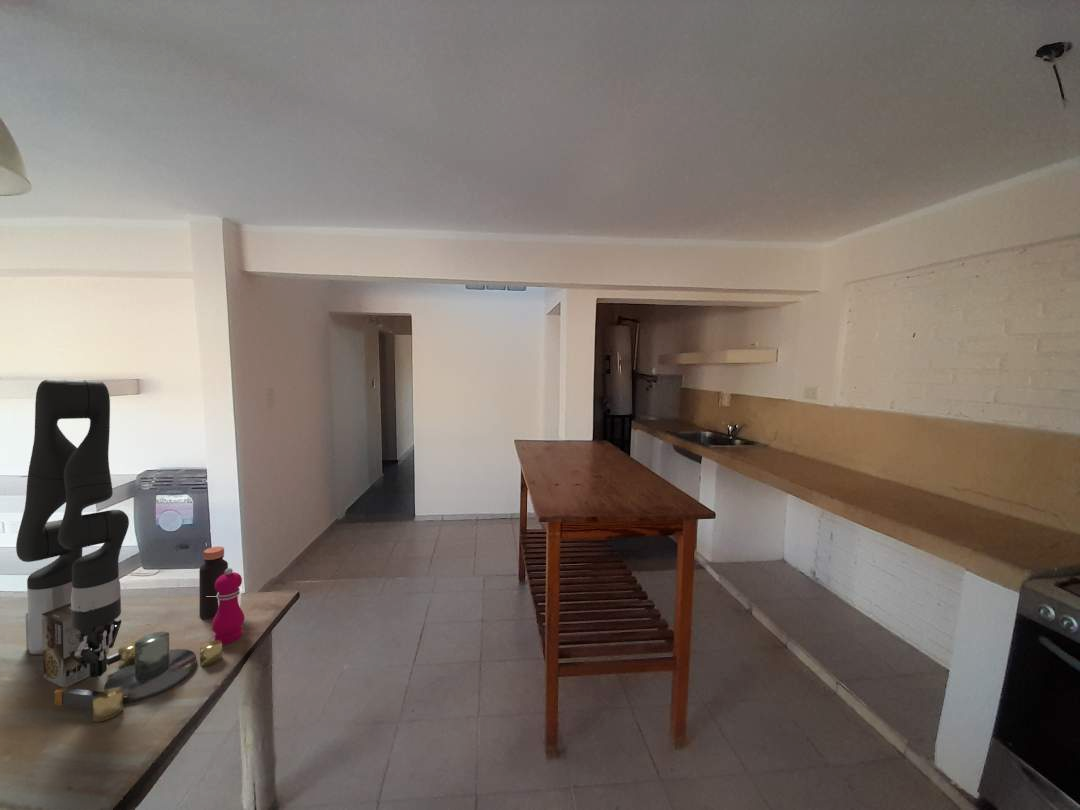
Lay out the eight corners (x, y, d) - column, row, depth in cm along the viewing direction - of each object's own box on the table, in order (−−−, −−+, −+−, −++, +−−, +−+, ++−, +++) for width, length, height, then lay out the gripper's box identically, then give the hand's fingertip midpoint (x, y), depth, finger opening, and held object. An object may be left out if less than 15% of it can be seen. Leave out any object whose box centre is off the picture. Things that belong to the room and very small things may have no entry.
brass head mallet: (46, 715, 85) (45, 696, 85) (71, 698, 90) (71, 681, 89) (105, 722, 84) (105, 704, 84) (129, 705, 89) (128, 688, 88)
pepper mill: (226, 648, 109) (226, 576, 108) (204, 643, 110) (204, 572, 109) (250, 632, 116) (251, 564, 115) (230, 627, 117) (230, 561, 116)
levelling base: (64, 696, 91) (63, 656, 90) (151, 643, 109) (151, 609, 109) (159, 708, 89) (158, 667, 88) (230, 652, 107) (230, 617, 107)
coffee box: (101, 671, 99) (100, 607, 98) (63, 689, 93) (61, 622, 92) (80, 661, 102) (78, 599, 101) (41, 678, 95) (40, 612, 95)
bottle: (195, 621, 120) (195, 555, 119) (204, 609, 126) (204, 546, 125) (223, 616, 122) (224, 552, 121) (230, 605, 129) (230, 544, 127)
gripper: (94, 588, 95) (96, 659, 96) (50, 619, 83) (52, 700, 84) (135, 584, 98) (136, 652, 99) (98, 613, 86) (100, 691, 86)
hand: (98, 674), depth 91 cm, fingers closed
